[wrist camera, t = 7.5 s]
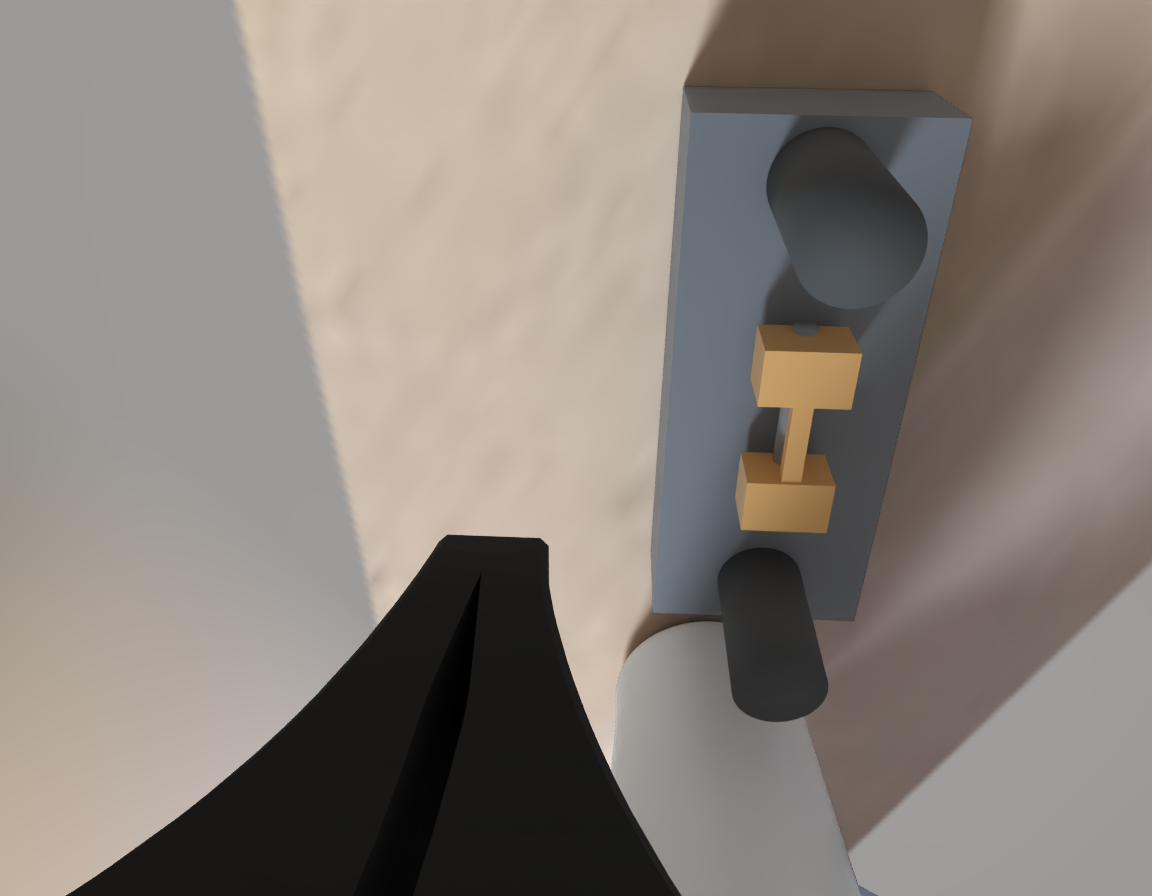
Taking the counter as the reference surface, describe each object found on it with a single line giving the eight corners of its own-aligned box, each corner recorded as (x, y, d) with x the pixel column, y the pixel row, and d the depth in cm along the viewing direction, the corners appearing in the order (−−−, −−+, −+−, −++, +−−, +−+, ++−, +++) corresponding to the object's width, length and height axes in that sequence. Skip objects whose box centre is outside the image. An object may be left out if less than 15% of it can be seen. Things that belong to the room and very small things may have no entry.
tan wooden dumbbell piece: (815, 503, 20) (826, 537, 19) (734, 501, 20) (740, 533, 19) (849, 322, 18) (863, 348, 17) (757, 319, 18) (765, 345, 17)
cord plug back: (794, 612, 22) (819, 724, 19) (713, 608, 22) (726, 719, 19) (806, 549, 21) (835, 657, 18) (722, 545, 21) (737, 653, 18)
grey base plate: (834, 557, 24) (854, 621, 22) (650, 550, 25) (652, 612, 22) (932, 91, 18) (972, 118, 16) (683, 86, 18) (690, 112, 16)
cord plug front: (870, 232, 17) (918, 305, 14) (764, 237, 17) (789, 311, 14) (882, 123, 16) (936, 178, 13) (768, 131, 16) (796, 186, 13)
